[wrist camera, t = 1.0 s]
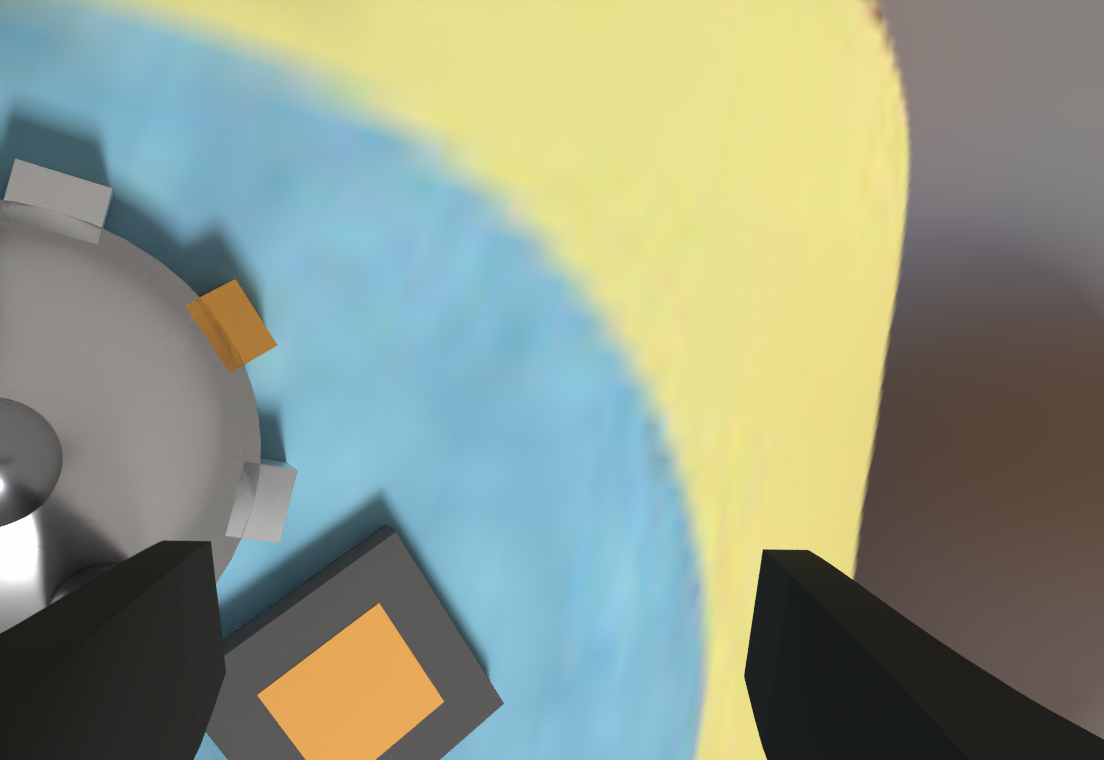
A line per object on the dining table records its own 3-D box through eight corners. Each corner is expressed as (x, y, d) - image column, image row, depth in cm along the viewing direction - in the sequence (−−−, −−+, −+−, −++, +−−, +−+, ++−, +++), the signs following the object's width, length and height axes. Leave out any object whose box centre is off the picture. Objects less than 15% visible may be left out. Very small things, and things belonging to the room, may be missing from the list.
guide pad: (307, 849, 24) (315, 869, 23) (171, 677, 22) (174, 692, 21) (491, 691, 27) (504, 703, 26) (385, 524, 25) (396, 532, 24)
